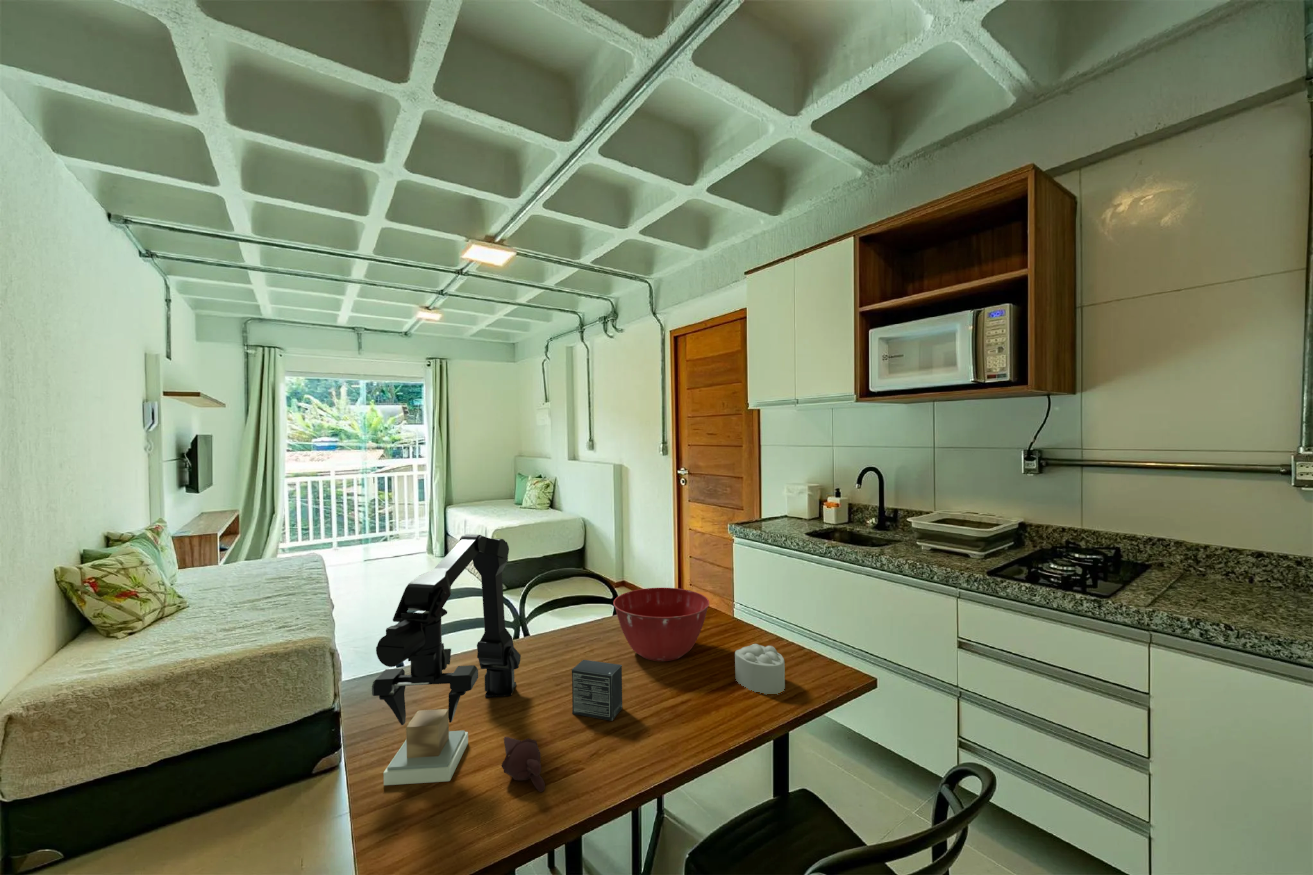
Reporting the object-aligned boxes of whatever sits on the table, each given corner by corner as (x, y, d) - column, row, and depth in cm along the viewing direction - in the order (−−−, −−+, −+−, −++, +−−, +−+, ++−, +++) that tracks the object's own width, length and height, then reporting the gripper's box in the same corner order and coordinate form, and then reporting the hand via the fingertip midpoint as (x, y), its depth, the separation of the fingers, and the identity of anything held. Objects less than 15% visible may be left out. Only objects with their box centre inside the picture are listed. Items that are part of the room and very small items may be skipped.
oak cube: (448, 737, 105) (448, 708, 105) (438, 756, 100) (438, 725, 99) (418, 739, 105) (418, 710, 105) (406, 758, 99) (406, 727, 99)
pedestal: (468, 742, 109) (467, 728, 109) (449, 781, 97) (449, 765, 97) (409, 746, 108) (409, 732, 108) (383, 785, 96) (383, 769, 96)
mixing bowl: (651, 627, 173) (651, 581, 173) (727, 646, 156) (726, 595, 156) (594, 657, 150) (593, 604, 150) (675, 683, 133) (674, 624, 133)
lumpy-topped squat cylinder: (758, 668, 141) (757, 637, 141) (795, 687, 131) (794, 653, 131) (730, 679, 136) (729, 646, 136) (766, 699, 125) (765, 664, 125)
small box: (624, 707, 122) (623, 663, 122) (612, 722, 116) (612, 675, 116) (584, 700, 126) (583, 657, 126) (571, 714, 119) (570, 669, 119)
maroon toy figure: (483, 734, 101) (517, 779, 89) (518, 712, 105) (554, 752, 94) (491, 763, 102) (526, 811, 91) (525, 740, 107) (561, 782, 96)
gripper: (484, 627, 111) (485, 699, 111) (394, 631, 109) (395, 704, 109) (469, 648, 100) (471, 728, 100) (369, 653, 98) (371, 734, 98)
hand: (427, 722), depth 102 cm, fingers open, 9 cm apart
